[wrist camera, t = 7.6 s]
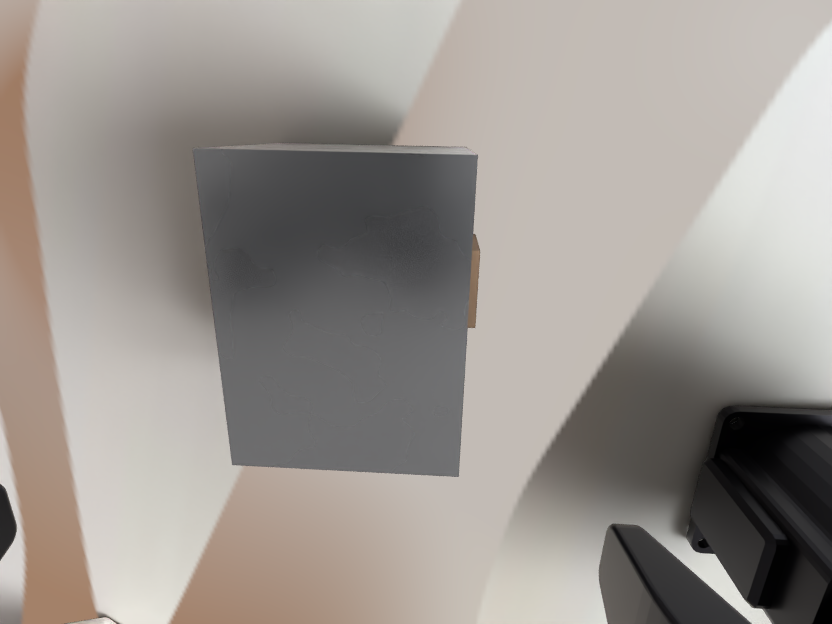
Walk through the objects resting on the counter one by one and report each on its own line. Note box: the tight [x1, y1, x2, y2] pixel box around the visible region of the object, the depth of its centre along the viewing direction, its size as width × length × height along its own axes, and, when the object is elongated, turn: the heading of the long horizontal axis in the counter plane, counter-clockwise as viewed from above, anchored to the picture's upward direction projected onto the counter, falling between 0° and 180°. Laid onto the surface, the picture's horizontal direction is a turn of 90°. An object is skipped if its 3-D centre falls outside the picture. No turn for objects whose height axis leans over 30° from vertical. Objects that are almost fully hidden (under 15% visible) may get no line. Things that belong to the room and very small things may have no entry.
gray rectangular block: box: [193, 143, 478, 477], centre depth 15 cm, size 6×8×6 cm
